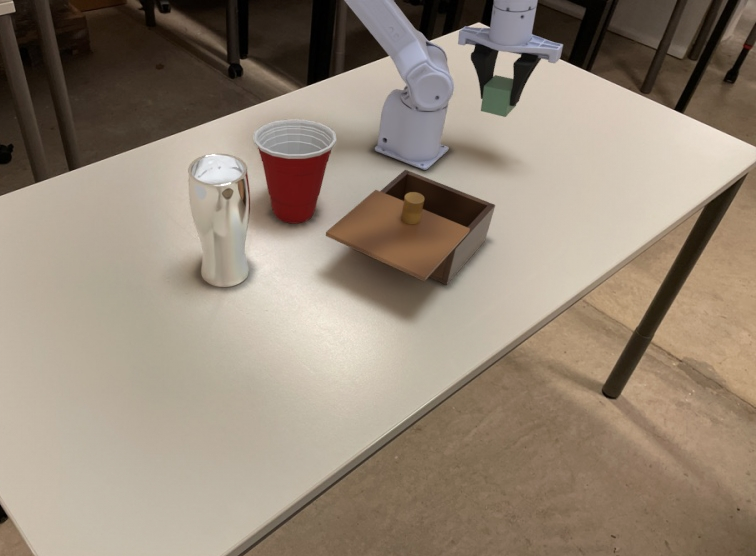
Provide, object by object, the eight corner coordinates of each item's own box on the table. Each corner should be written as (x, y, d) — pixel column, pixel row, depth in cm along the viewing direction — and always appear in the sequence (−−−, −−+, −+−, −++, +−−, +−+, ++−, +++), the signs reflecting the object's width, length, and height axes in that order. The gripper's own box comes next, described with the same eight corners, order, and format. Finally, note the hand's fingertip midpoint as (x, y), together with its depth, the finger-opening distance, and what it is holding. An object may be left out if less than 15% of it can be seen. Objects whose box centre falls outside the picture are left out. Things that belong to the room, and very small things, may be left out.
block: (480, 111, 100) (483, 85, 97) (491, 100, 102) (495, 74, 99) (505, 117, 98) (509, 91, 95) (516, 105, 100) (520, 80, 98)
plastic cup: (320, 185, 98) (324, 110, 90) (340, 229, 91) (347, 151, 83) (248, 193, 96) (246, 117, 88) (263, 238, 89) (261, 159, 80)
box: (356, 244, 89) (360, 207, 85) (399, 204, 96) (405, 169, 91) (446, 285, 84) (455, 248, 80) (485, 240, 91) (495, 204, 86)
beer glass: (209, 296, 81) (199, 192, 70) (189, 263, 85) (177, 160, 74) (261, 280, 83) (259, 177, 72) (239, 248, 87) (234, 146, 77)
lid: (325, 236, 80) (327, 210, 77) (375, 193, 87) (378, 168, 84) (424, 281, 75) (430, 256, 72) (469, 232, 81) (475, 207, 79)
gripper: (578, 2, 88) (557, 99, 98) (477, -14, 95) (466, 79, 104) (559, 21, 85) (539, 119, 94) (455, 3, 91) (446, 97, 101)
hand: (499, 99), depth 99 cm, fingers closed on block, 4 cm apart
